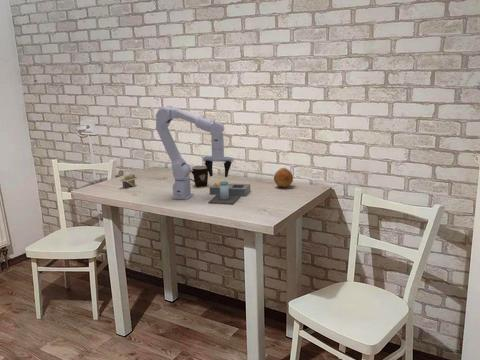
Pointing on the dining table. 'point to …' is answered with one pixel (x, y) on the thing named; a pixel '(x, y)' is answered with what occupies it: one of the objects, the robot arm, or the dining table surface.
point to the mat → (218, 201)
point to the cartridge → (224, 190)
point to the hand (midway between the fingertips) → (218, 176)
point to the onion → (283, 177)
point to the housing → (232, 189)
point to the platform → (128, 181)
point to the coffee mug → (200, 176)
